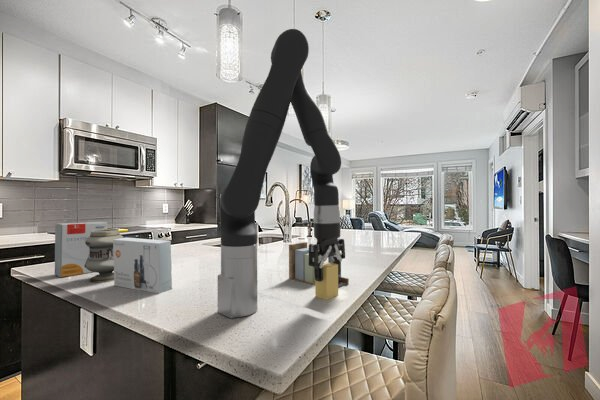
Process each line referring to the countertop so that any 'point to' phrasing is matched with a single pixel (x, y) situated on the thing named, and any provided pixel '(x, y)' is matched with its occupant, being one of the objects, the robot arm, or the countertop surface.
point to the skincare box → (142, 264)
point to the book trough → (292, 263)
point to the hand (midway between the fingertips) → (328, 277)
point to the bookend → (338, 275)
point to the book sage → (309, 270)
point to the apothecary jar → (102, 254)
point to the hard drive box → (73, 247)
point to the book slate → (300, 263)
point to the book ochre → (327, 282)
